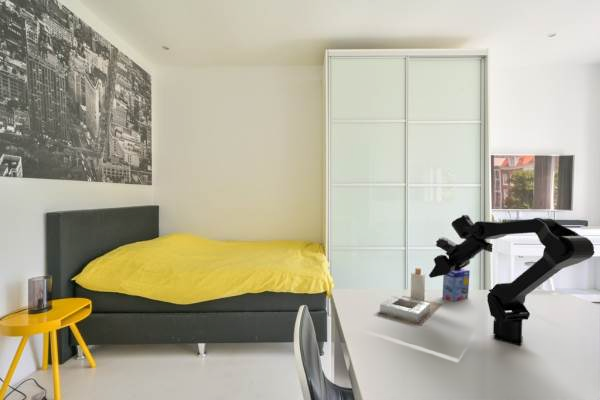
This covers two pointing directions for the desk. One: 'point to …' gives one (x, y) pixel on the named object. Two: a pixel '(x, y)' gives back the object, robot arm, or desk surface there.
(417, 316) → the grey square frame
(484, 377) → the desk surface
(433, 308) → the mount board
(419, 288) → the white bottle
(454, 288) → the ink cartridge box
